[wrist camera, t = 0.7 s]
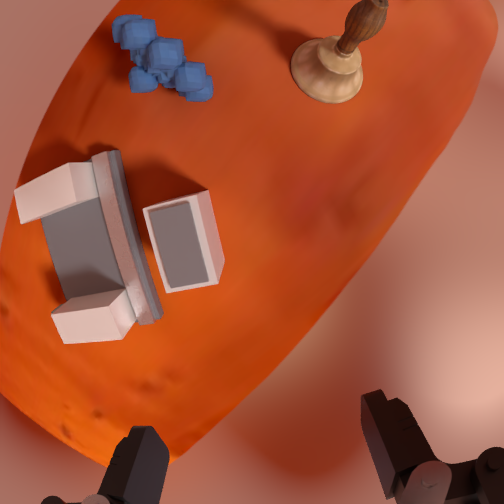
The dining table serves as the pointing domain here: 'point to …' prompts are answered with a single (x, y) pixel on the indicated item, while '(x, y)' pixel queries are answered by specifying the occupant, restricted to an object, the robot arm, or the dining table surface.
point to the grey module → (185, 241)
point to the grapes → (159, 60)
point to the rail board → (92, 248)
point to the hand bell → (338, 56)
